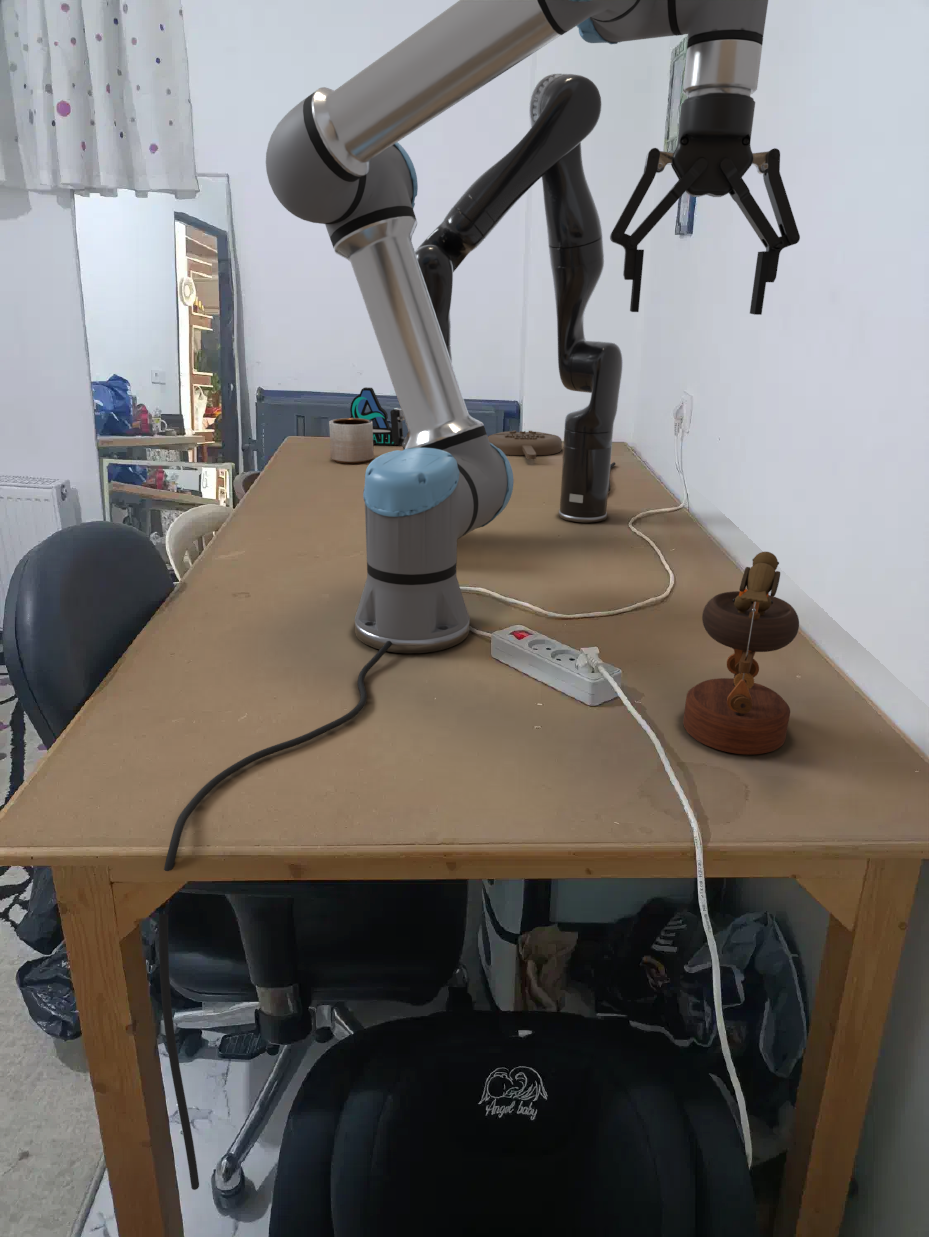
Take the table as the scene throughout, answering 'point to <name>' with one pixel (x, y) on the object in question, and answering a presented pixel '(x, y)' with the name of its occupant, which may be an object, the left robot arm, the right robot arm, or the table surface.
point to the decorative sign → (372, 415)
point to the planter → (351, 440)
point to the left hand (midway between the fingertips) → (694, 313)
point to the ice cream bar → (526, 443)
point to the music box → (744, 666)
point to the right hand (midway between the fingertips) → (429, 469)
